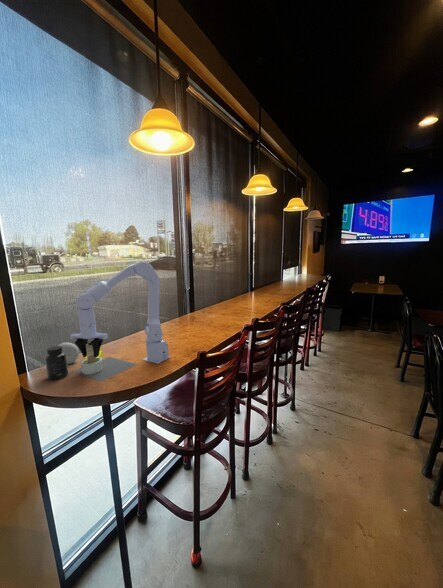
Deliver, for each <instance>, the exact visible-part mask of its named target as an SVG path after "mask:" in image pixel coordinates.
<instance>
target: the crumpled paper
mask: <svg viewBox="0 0 443 588" xmlns="http://www.w3.org/2000/svg"><path fill="white" fill-rule="evenodd" d="M102 350H103V348H102V346H101V347H100V351H99V356H97V357H101V358H102V356H103V354H104V353H103V351H102ZM85 359H87V356H86V357H83V360H85Z"/></svg>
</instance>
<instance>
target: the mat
mask: <svg viewBox="0 0 443 588" xmlns="http://www.w3.org/2000/svg"><path fill="white" fill-rule="evenodd" d="M102 362H103V370H101V371H100V372H98V373H95V374H89V375H86V374H83V373H82V367H79V368H76V369H74V370H72V371H71V372H73V373H75V374H78V375H81V376H84V377H87V378H89V379H92V380H95V381H98V382H104V381H105V380H107V379H109V378H112V377H114V376H115V375H117V374H120V373H122V372H125V371H127V370H128V369H130V368H133V367H135V366H137V365H138V363H134V362H130V361H127V360H123V359H119V358H116V357H112V356H108V357H105V358H102Z"/></svg>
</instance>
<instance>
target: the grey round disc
mask: <svg viewBox="0 0 443 588" xmlns="http://www.w3.org/2000/svg"><path fill="white" fill-rule="evenodd" d="M57 346H62V350H63V351H62V352H63V353H64V351H68V352H69V353H70V355H69V356H66V359H67V365H70V364H74V363H75V362H76V361H77V360H78V359H79V356H80V349H79V347H78V346H77V345H76V344H75V343H72V342H67V341H66V342H61V343H60V344H58V345H57Z"/></svg>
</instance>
